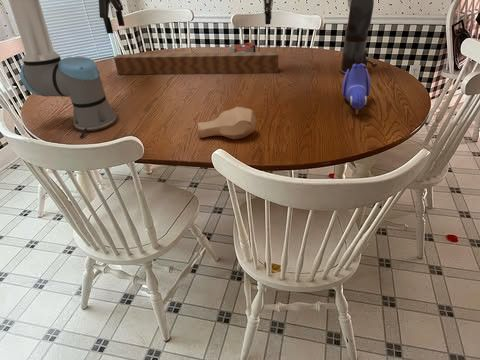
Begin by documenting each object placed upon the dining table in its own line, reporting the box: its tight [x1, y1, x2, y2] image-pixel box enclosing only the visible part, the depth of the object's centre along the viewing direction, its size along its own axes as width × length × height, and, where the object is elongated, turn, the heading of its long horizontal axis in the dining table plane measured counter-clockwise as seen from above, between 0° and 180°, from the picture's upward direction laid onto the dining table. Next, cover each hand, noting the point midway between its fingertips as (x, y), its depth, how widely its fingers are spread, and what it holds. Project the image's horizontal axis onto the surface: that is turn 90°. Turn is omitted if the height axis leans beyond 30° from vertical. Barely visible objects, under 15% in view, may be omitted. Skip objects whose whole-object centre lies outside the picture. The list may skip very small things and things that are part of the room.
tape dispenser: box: [230, 41, 256, 53], centre depth 185 cm, size 18×5×20 cm
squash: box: [197, 106, 257, 140], centre depth 118 cm, size 11×20×9 cm, turn 92°
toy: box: [341, 63, 371, 116], centre depth 129 cm, size 10×17×25 cm
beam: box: [113, 51, 280, 75], centre depth 170 cm, size 79×5×8 cm, turn 83°
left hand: (116, 29), depth 165 cm, fingers open, 13 cm apart
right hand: (268, 21), depth 156 cm, fingers open, 8 cm apart
